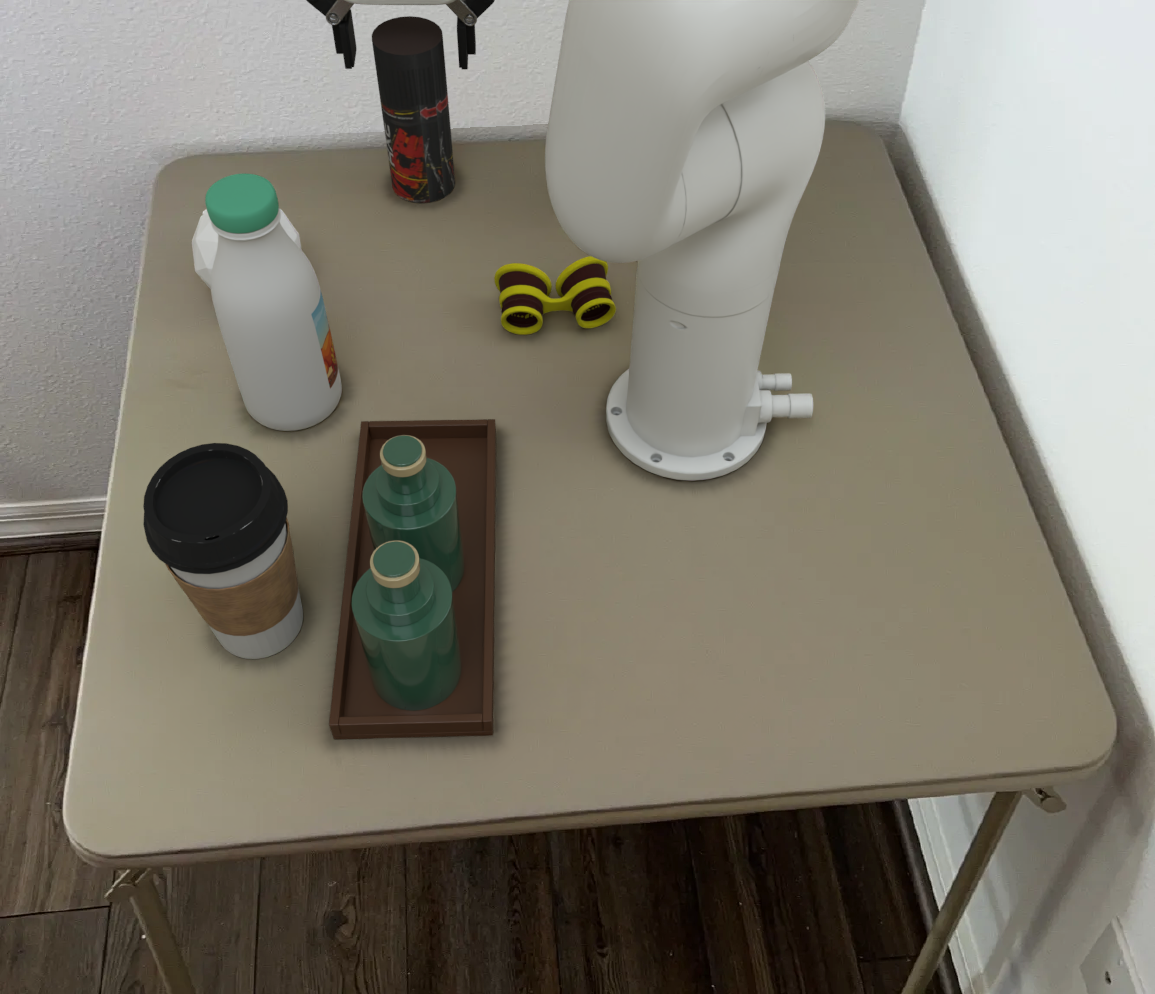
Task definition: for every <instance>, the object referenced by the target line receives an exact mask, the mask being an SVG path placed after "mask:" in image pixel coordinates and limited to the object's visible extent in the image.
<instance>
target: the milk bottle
mask: <svg viewBox="0 0 1155 994" xmlns="http://www.w3.org/2000/svg"><path fill="white" fill-rule="evenodd" d="M204 202H205V203H204V204H205V208H206V209H207V212H208V215H209V218H210V220H211V225H212V228H213V229H214V231H215V232H216V233H217V234H218V247H217V253H216V256H215V260H214V264H213V268H212V274H211V289H210V294H211V300H212V305H213V307H214V308H213V309H214V312H215V316H216V320H217V323H218V326H219V330H220V333H221V337H222V340H223V343H224V346H225V349H226V352H227V356H228V358H229V362H230V365H231V368H232V371H233V374H234V377H235V380H236V383H237V385H238V386H237V387H238V389H239V393H240V396H241V398H242V401H243V403H244V406H245V409H246V411H247V413H248V414H249V416H251V417H252V418H253V419H254V420H255V421H256V422H257V423H259V424H260V425H262V426H264V427H266V428H268V429H271V430H276V431H283V432H293V431H294V432H295V431H300V430H305V429H308V428H310V427H314V426H316V425H318V424H319V423H321V422H323V421H324V420H325V419H327V418H328V417H330V416H331V414H332V413H333V412H334V411H335V410H336V407H337V406H338V404H339V402H340V399H341V397H342V392H343V386H342V379H341V372H340V368H339V364H338V358H337V355H336V351H335V350H336V349H335V346H334V340H333V336H332V332H331V331H332V330H331V327H330V323H329V319H328V315H327V310H326V306H325V301H324V297H323V294H322V290H321V286H320V283H319V279H318V277H317V276H318V275H317V274H316V271H315V269H314V267H313V265H312V263H311V261H310V259H309V258H308V257H307V255H306V253H305V252H304V250H302V248H301V249H300V248H299V247H298V245H297V244H296V243H295V242H294V241H293V240H292V239H291V238H290V237H289V236H288V235H287V233H286V232H285V230H284V229H283V227H282V226H281V224H280V222H279V221H280V218H281V211H280V209H281V208H280V204H279V199H278V195H277V191H276V189H275V187H274V185H273V184H272V183H271V181H269V180H268V179H267V178H266V177H263V176H262V175H258V174H254V173H246V172H245V173H235V174H229V175H227V176H225V177H222V178H220V179H218V180H216V181H215V182H214V183H213V184H212V185H210V187H208V189H207V191H206V194H205V199H204Z"/></svg>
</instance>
